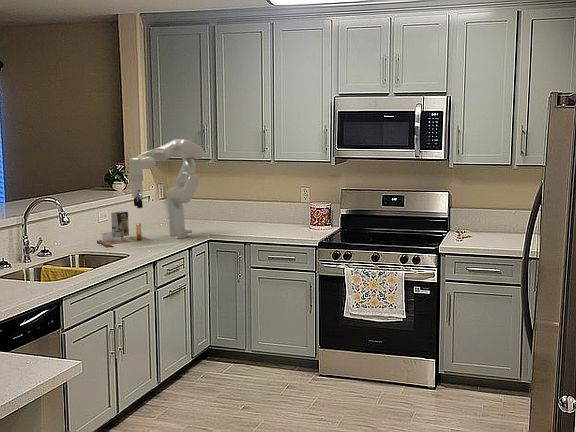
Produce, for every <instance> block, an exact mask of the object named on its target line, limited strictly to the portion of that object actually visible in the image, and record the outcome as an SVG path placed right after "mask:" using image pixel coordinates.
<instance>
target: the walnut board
mask: <svg viewBox="0 0 576 432" xmlns="http://www.w3.org/2000/svg"><path fill="white" fill-rule="evenodd" d="M145 241H152V238H151V239H150V238H147V237H145V236H142V240H137V235H134V236H128V237H127V236H124V241H122V242H106V243H103V241H102V239H99V240H96V244H98V245H100V244H101V246H102V245H103V246H102V247H104V248H114V246H115V245H118V244H127V243H128V244H129V243H138V242H145Z"/></svg>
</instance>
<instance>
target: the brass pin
mask: <svg viewBox="0 0 576 432" xmlns="http://www.w3.org/2000/svg"><path fill="white" fill-rule="evenodd" d="M135 230H136V231H135V232H136V233H135V234H136V236H137V240H142V237H143V235H142V234H143V233H142V223H140V222H137V223H135Z"/></svg>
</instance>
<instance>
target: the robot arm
mask: <svg viewBox="0 0 576 432" xmlns="http://www.w3.org/2000/svg"><path fill="white" fill-rule="evenodd" d="M204 152H205V150H204V149H203V147H202V146H201V145H199V144H197V143H194V142H192V141H191V140H188V139H185V138H175V139H173V140H170V141H169V142H166V143H165V144H162V145H161V146H160V147H156V148H153V149H150V150H147V151H145V152H142V153H141V154H139V155H137V156H136V157H130V158H129V160H128V161H129V177H130V180H129V181H130V182H131V197H132V198H133V206H134V207H136V208H137V209H143V205H144V204H143V196H144V195H143V181H144V172H143V171H144V170H151V169H154V168H155V166H156V162H161V161H166V160H168V159H170V158H171V157H173V156H175V155H177V154H179V153H180V156H181V158H182V166H181V167H180V170H179V172H178V174H177V177H176V178H175V185H176V186H177V187H176V186H175V187H173V186H172V187H170V188H168V190H167V192H166V201H167V207H168V220H169V221H168V224H169V234H168V235H167V236H168V237H170V238H174V239H186V238H188V234H192V233H193V230H192V229H185V226H186V223H185V208H184V204H188V203H190V202H191V200H192V199H193V197H194V195H195V193H196V192H197V189H198V187H199V183H200V180H199V179H200V178H199V176H198V175H197V174H196V173H195V172H196V169H197V168H196V167H197V166H196V163H195V160H199V159H202V158H203V157H204V154H205V153H204Z"/></svg>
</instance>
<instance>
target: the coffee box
mask: <svg viewBox="0 0 576 432" xmlns="http://www.w3.org/2000/svg"><path fill="white" fill-rule="evenodd" d="M129 227H130V226H129V212H128V211H118V212H117V211H116V212H111V230H112V229H114V230H122V231H124V237H127V236H128V237H129V236H130V229H129Z"/></svg>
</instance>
